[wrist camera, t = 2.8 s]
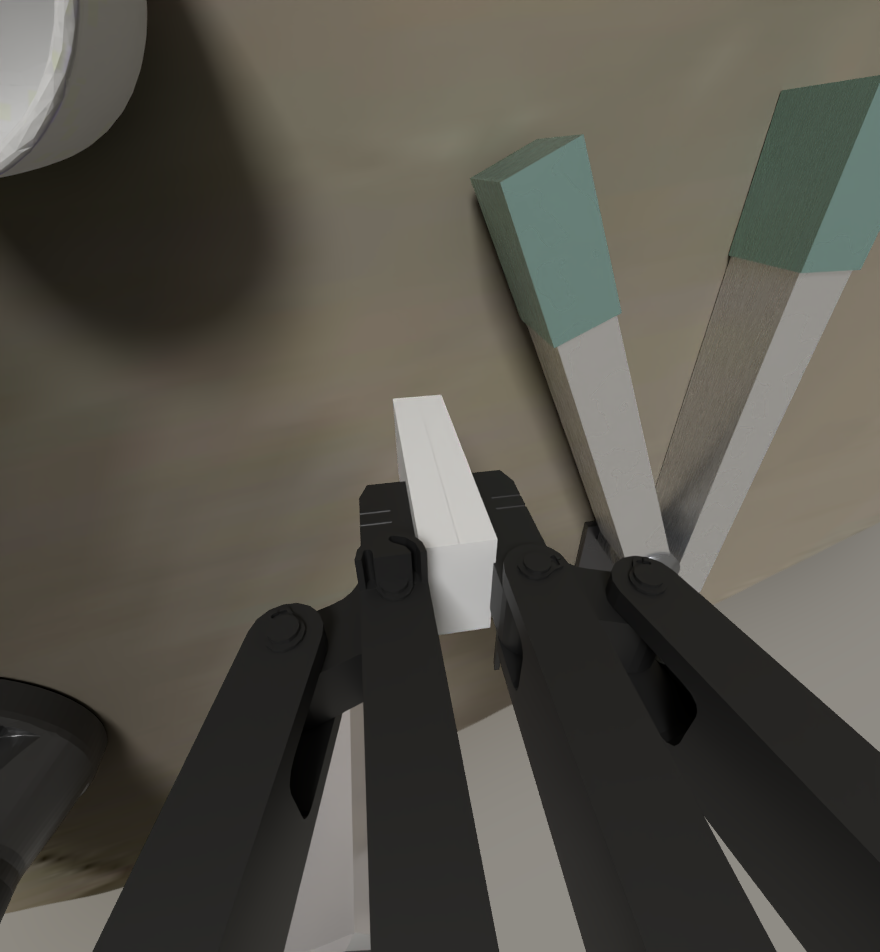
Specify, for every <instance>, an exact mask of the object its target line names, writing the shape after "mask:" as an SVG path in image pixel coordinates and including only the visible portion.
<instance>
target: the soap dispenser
mask: <svg viewBox="0 0 880 952" xmlns="http://www.w3.org/2000/svg"><path fill="white" fill-rule="evenodd" d="M284 952H371V944H370V912H369V879H368V846H367V813H366V781H365V748H364V715H363V703H361V704H359V705H357V706H355V707H353V708H351V709H349V710H347V711H345V712H344V713H343V714H342V718H341V722H340V726H339V730H338V734H337V738H336V742H335V746H334V750H333V754H332V759H331V763H330V767H329V771H328V775H327V779H326V783H325V787H324V791H323V795H322V799H321V803H320V807H319V811H318V815H317V819H316V823H315V827H314V831H313V836H312V840H311V844H310V848H309V852H308V856H307V860H306V864H305V868H304V872H303V876H302V880H301V884H300V888H299V892H298V896H297V900H296V904H295V909H294V913H293V917H292V921H291V925H290V929H289V933H288V937H287V941H286V945H285V949H284Z"/></svg>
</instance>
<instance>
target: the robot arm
mask: <svg viewBox="0 0 880 952" xmlns="http://www.w3.org/2000/svg"><path fill="white" fill-rule="evenodd" d="M393 408H394V421H395V433H396V446H397V459H398V472H399V478H400V482H394V483H384V484H375V485H367V486H366V488H365V490H364V491H363V493H362V495H361V496H360V498H359V505H360V536H361V546H360V547H359V549H358V550H357V553H356V557H355V566H356V572H357V578H358V584H357V586H356V587H355V588H354V590H353V591H352V592H351V593H350V594H349V595H347V596H346V597H345V598H344V599H342V600H340V601H338V602H336V603H335V604H332V605H330V606H328V607H325V608H323V609H321V610H318V611H316V610H314V609H313V608H312V607H311V606H308V605H304V604H299V603H293V604H284V605H281V606H278V607H276V608H273V609H271V610H269V611H267V612H266V613H265V614H264V615H262V616H261V617H260V618H258V619H257V620H256V621H255V623H254V624H253V626H252V627H251V628H250V630H249V631H248V633H247V635H246V637H245V639H244V641H243V643H242V645H241V648H240V650H239V652H238V654H237V656H236V658H235V660H234V662H233V664H232V666H231V668H230V670H229V672H228V674H227V676H226V678H225V680H224V682H223V685H222V687H221V689H220V691H219V693H218V695H217V697H216V699H215V701H214V703H213V705H212V707H211V709H210V711H209V713H208V715H207V717H206V719H205V722H204V724H203V726H202V728H201V730H200V732H199V734H198V736H197V738H196V740H195V742H194V744H193V746H192V748H191V750H190V752H189V754H188V756H187V758H186V761H185V763H184V765H183V767H182V769H181V771H180V773H179V775H178V777H177V779H176V781H175V783H174V785H173V787H172V789H171V791H170V793H169V795H168V798H167V800H166V802H165V804H164V806H163V808H162V810H161V812H160V814H159V816H158V818H157V820H156V822H155V824H154V826H153V828H152V830H151V832H150V835H149V837H148V839H147V841H146V843H145V845H144V847H143V849H142V851H141V853H140V855H139V857H138V859H137V861H136V863H135V865H134V867H133V869H132V872H131V874H130V876H129V878H128V880H127V882H126V884H125V886H124V888H123V890H122V892H121V894H120V896H119V898H118V900H117V902H116V905H115V906H114V908H113V911H112V913H111V915H110V917H109V919H108V921H107V923H106V925H105V927H104V929H103V931H102V933H101V935H100V937H99V940H98V941H97V943H96V945H95V948H94V950H93V952H284V949H285V945H286V941H287V937H288V933H289V929H290V925H291V921H292V917H293V913H294V909H295V904H296V900H297V896H298V892H299V888H300V884H301V880H302V876H303V872H304V868H305V864H306V860H307V856H308V852H309V848H310V844H311V840H312V836H313V831H314V827H315V823H316V819H317V815H318V811H319V807H320V803H321V799H322V795H323V791H324V787H325V783H326V779H327V775H328V771H329V767H330V763H331V759H332V754H333V750H334V746H335V742H336V738H337V734H338V730H339V726H340V722H341V718H342V714H343V713H344V712H345V711H347V710H349V709H351V708H353V707H355V706H357V705H359V704H361V703H363V715H364V748H365V781H366V813H367V846H368V879H369V912H370V944H371V952H499V948H498V943H497V937H496V932H495V927H494V922H493V917H492V911H491V907H490V901H489V896H488V891H487V886H486V880H485V875H484V870H483V865H482V860H481V855H480V849H479V844H478V839H477V834H476V828H475V823H474V818H473V813H472V808H471V803H470V797H469V792H468V786H467V781H466V776H465V772H464V766H463V760H462V755H461V750H460V745H459V740H458V734H457V729H456V724H455V719H454V714H453V708H452V703H451V698H450V693H449V688H448V682H447V677H446V672H445V667H444V662H443V656H442V651H441V646H440V641H439V635H443V634H450V633H457V632H463V631H470V630H477V629H483V628H490V622H491V614H492V617H493V621H494V624H495V627H496V630H497V633H496V643H495V653H494V670H498V669H499V667H500V663H501V667H502V670H503V674H504V677H505V680H506V684H507V687H508V690H509V694H510V697H511V700H512V704H513V707H514V710H515V714H516V717H517V721H518V724H519V727H520V731H521V734H522V737H523V740H524V744H525V748H526V751H527V754H528V757H529V761H530V764H531V767H532V771H533V774H534V778H535V781H536V784H537V788H538V791H539V795H540V798H541V801H542V805H543V808H544V811H545V815H546V818H547V822H548V825H549V828H550V832H551V835H552V838H553V841H554V845H555V848H556V852H557V855H558V859H559V862H560V865H561V868H562V872H563V875H564V879H565V882H566V885H567V888H568V892H569V896H570V899H571V902H572V906H573V909H574V912H575V916H576V919H577V922H578V925H579V929H580V932H581V936H582V939H583V943H584V946H585V949H586V952H776V950H775V948H774V946H773V944H772V942H771V941H770V938H769V937H768V935H767V933H766V931H765V929H764V928H763V925H762V924H761V922H760V920H759V918H758V916H757V914H756V912H755V911H754V909H753V907H752V905H751V903H750V901H749V899H748V897H747V896H746V894H745V892H744V890H743V888H742V886H741V884H740V883H739V881H738V879H737V877H736V875H735V873H734V871H733V870H732V868H731V866H730V864H729V862H728V860H727V858H726V856H725V855H724V853H723V851H722V849H721V847H720V845H719V844H718V842H717V840H716V838H715V836H714V834H713V832H712V830H711V829H710V827H709V825H708V823H707V821H706V819H707V820H708V822H709V823H710V824H711V826H712V827H713V828H714V830H715V831H716V832H717V834H718V835H719V836H720V838H721V839H722V840H723V842H724V843H725V844H726V846H727V847H728V848H729V849H730V851H731V852H732V853H733V855H734V856H735V857H736V859H737V860H738V861H739V863H740V864H741V865H742V867H743V868H744V869H745V871H746V872H747V873H748V875H749V876H750V877H751V878H752V880H753V881H754V882H755V884H756V885H757V886H758V888H759V889H760V890H761V891H762V893H763V894H764V896H765V897H766V898H767V900H768V901H769V902H770V904H771V905H772V906H773V907H774V909H775V910H776V911H777V913H778V914H779V915H780V917H781V918H782V919H783V920H784V922H785V923H786V925H787V926H788V927H789V928H790V930H791V931H792V933H793V934H794V935H795V936H796V938H797V939H798V940H799V942H800V943H801V944H802V946H803V947H804V948H805V950H806V951H807V952H880V752H879V751H878V750H877V749H875V748H874V747H873V746H872V745H871V744H870V743H869V742H867V741H866V740H865V739H864V738H863V737H862V736H861V735H860V734H858V733H857V732H856V731H855V730H854V729H853V728H852V727H850V726H849V725H848V724H847V723H846V722H845V721H844V720H842V719H841V718H840V717H839V716H838V715H837V714H835V712H833V711H832V710H831V709H830V708H829V707H828V706H826V705H825V704H824V703H823V702H822V701H821V700H820V699H819V698H818V697H816V696H815V695H814V694H813V693H812V692H810V690H808V689H807V688H806V687H805V686H804V685H803V684H802V683H800V682H799V681H798V680H797V679H796V678H795V677H794V676H792V675H791V674H790V673H789V672H788V671H787V670H786V669H785V668H783V667H782V666H781V665H780V664H779V663H778V662H777V661H775V660H774V659H773V658H772V657H771V656H770V655H769V654H768V653H766V652H765V651H764V650H763V649H762V648H761V647H760V646H759V645H757V644H756V643H755V642H754V641H753V640H752V639H751V638H749V637H748V636H747V635H746V634H745V633H744V632H742V631H741V630H740V629H739V628H738V627H737V626H736V625H735V624H733V623H732V622H731V621H730V620H729V619H728V618H727V617H726V616H724V615H723V614H722V613H721V612H720V611H719V610H718V609H717V608H715V607H714V606H713V605H712V604H711V603H710V602H709V601H707V600H706V599H705V598H704V597H703V596H702V595H701V594H699V593H698V592H697V591H696V590H695V589H694V588H693V587H692V586H690V585H689V584H688V583H687V582H686V581H685V580H684V579H682V578H681V577H680V576H679V575H678V574H677V573H676V572H675V571H673V570H672V569H671V568H669V567H668V566H666V565H665V564H663V563H662V562H659V561H657V560H654V559H651V558H649V557H642V556H629V557H623V558H622V559H620V560H619V561H617V562H615V564H614V566H613V568H612V570H611V571H603V570H595V569H587V568H581V567H577V566H573V565H571V564H568V562H567V561H566V560H565V559H564V557H563V556H562V555H561V554H560V553H558V552H556V551H555V550H553V549H552V548H549V547H547V546H546V544H545V542H544V540H543V538H542V537H541V535H540V533H539V531H538V529H537V527H536V525H535V523H534V521H533V519H532V517H531V515H530V513H529V511H528V509H527V507H525V503H524V501H523V499H522V497H521V496H520V493H519V491H518V489H517V487H516V485H515V483H514V481H513V480H512V479H510V478H509V477H508V476H507V475H505V474H504V473H503V472H502V471H500V470H496V471H486V472H477V473H471V470H470V468H469V465H468V462H467V460H466V457H465V455H464V452H463V450H462V447H461V444H460V442H459V439H458V437H457V434H456V432H455V429H454V426H453V424H452V421H451V419H450V416H449V414H448V411H447V409H446V406H445V403H444V401H443V398H442V396H441V395H433V396H421V397H409V398H396V399H393ZM106 746H107V734H106V731H105V729H104V727H103V725H102V723H101V722H100V721H99V720H98V719H97V717H96V716H95V715H93V714H92V713H91V712H90V711H89V710H87V709H86V708H84V707H83V706H81V705H80V704H78V703H76V702H74V701H73V700H71V699H68V698H66V697H64V696H62V695H59V694H57V693H54V692H52V691H49V690H46V689H43V688H39V687H36V686H32V685H28V684H24V683H20V682H15V681H9V680H4V679H0V922H1V920H2V918H3V916H4V913H5V911H6V909H7V907H8V904H9V902H10V900H11V897H12V895H13V893H14V891H15V889H16V886H17V884H18V883H19V881H20V879H21V877H22V876H23V874H24V873H25V871H26V870H27V869H28V867H29V866H30V865H31V863H32V862H33V861H34V859H35V858H36V857H37V855H38V854H39V853H40V851H41V850H42V849H43V847H44V846H45V844H46V843H47V842H48V840H49V839H50V838H51V836H52V835H53V834H54V832H55V831H56V829H57V828H58V827H59V825H60V824H61V822H62V821H63V820H64V818H65V817H66V815H67V814H68V813H69V811H70V810H71V808H72V807H73V805H74V804H75V802H76V801H77V799H78V798H79V797H80V796H81V795H82V794H83V793H84V792H85V791H86V790H87V788H88V787H89V785H90V784H91V782H92V780H93V778H94V776H95V774H96V772H97V769H98V767H99V764H100V762H101V759H102V757H103V754H104V752H105V749H106ZM705 818H706V819H705Z"/></svg>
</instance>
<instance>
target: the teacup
mask: <svg viewBox="0 0 880 952" xmlns="http://www.w3.org/2000/svg"><path fill="white" fill-rule="evenodd" d="M146 36H147V0H0V178H1V177H6V176H11V175H16V174H20V173H23V172H27V171H31V170H34V169H38V168H42V167H45V166H48V165H51V164H53V163H56V162H59V161H62V160H64V159H67V158H69V157H71V156H74V155H75V154H77V153H79V152H81V151H82V150H84V149H86V148H88V147H89V146H90V145H92V144H93V143H94V142H95V141H97V140H98V139H99V138H100V137H101V136H102V135H104V134H105V133H106V132H107V131H108V130H109V129H110V128H111V126H112V125H113V124H114V122H115V121H116V120H117V119H118V117H119V116H120V115H121V114H122V112H123V110H124V109H125V107H126V105H127V103H128V101H129V99H130V97H131V95H132V93H133V91H134V88H135V85H136V82H137V79H138V76H139V73H140V70H141V66H142V61H143V56H144V49H145V43H146Z"/></svg>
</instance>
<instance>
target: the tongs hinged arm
mask: <svg viewBox="0 0 880 952" xmlns="http://www.w3.org/2000/svg"><path fill="white" fill-rule="evenodd" d="M470 180H471V182H472V185H473V188H474V191H475V193H476V196H477V199H478V202H479V205H480V207H481V210H482V213H483V216H484V218H485V221H486V224H487V227H488V230H489V232H490V235H491V238H492V241H493V243H494V246H495V249H496V252H497V254H498V257H499V260H500V263H501V266H502V268H503V271H504V274H505V277H506V279H507V282H508V285H509V288H510V291H511V293H512V296H513V299H514V302H515V304H516V307H517V310H518V313H519V316H520V318H521V320H522V321H524V322H525V323H526V324H527V327H528V329H529V332H530V335H531V338H532V341H533V344H534V346H535V349H536V352H537V355H538V358H539V360H540V363H541V366H542V369H543V372H544V375H545V377H546V380H547V383H548V386H549V389H550V391H551V394H552V397H553V400H554V403H555V406H556V408H557V411H558V414H559V417H560V420H561V422H562V425H563V428H564V431H565V434H566V437H567V439H568V442H569V445H570V448H571V451H572V453H573V456H574V459H575V462H576V465H577V468H578V470H579V473H580V476H581V479H582V482H583V485H584V487H585V490H586V493H587V496H588V499H589V501H590V504H591V507H592V510H593V513H594V516H595V518H596V521H597V524H598V527H599V530H600V531H599V533H598V543H599V544H600V546H601V547H602V549H603V550H604V552H605V553H606V555H607V556H608V558H609V559H610V561H611V562H612V564H613V565H614V564H615V562H617V561H619V560H620V559H622V558H623V557H629V556H642V557H649V558H651V559H654V560H657V561H659V562H662V563H663V564H665V565H666V566H668V567H669V568H671V569H672V570H673V571H675V572H676V573H677V574H678V573H679V571H680V563H679V562H678V560H677V559H676V558H675V557H674V556H673V554H672V553H671V552H670V551H669V548H668V543H667V539H666V534H665V530H664V525H663V521H662V516H661V512H660V507H659V503H658V498H657V494H656V489H655V485H654V480H653V476H652V471H651V467H650V462H649V458H648V453H647V449H646V444H645V439H644V435H643V430H642V426H641V421H640V417H639V412H638V408H637V403H636V399H635V394H634V390H633V385H632V381H631V376H630V372H629V367H628V363H627V358H626V354H625V349H624V345H623V340H622V336H621V331H620V327H619V322H618V318H617V315H619V314H621V313H622V312H621V308H620V303H619V298H618V294H617V289H616V284H615V280H614V275H613V270H612V266H611V261H610V256H609V252H608V247H607V242H606V238H605V233H604V228H603V224H602V219H601V214H600V210H599V205H598V200H597V196H596V191H595V186H594V182H593V177H592V172H591V168H590V163H589V158H588V154H587V149H586V144H585V140H584V135H583V134H582V135H572V136H563V137H554V138H544V139H537V140H535V141H533V142H531V143H530V144H528V145H526V146H525V147H523V148H521V149H519V150H518V151H516V152H514V153H513V154H511V155H509V156H507V157H506V158H504V159H502V160H501V161H499V162H497V163H496V164H494V165H492V166H490V167H489V168H487V169H485V170H484V171H482V172H480V173H478V174H477V175H475V176H473V177H472V178H470Z"/></svg>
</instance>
